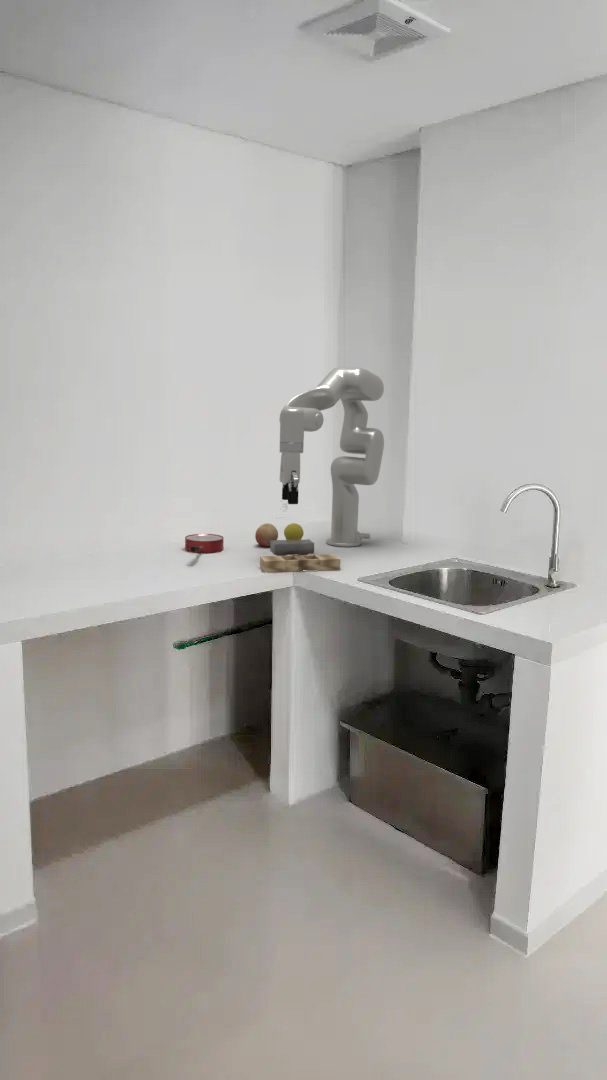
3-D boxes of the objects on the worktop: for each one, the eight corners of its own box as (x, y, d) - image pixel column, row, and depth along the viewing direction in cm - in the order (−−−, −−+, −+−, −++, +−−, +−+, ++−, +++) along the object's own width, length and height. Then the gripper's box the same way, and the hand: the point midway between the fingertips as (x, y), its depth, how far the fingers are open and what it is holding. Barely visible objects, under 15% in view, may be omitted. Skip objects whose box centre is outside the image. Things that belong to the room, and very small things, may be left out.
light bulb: (303, 550, 275) (304, 522, 273) (301, 554, 268) (302, 525, 266) (284, 549, 275) (285, 521, 273) (282, 553, 269) (283, 524, 267)
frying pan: (221, 567, 248) (222, 547, 246) (179, 566, 246) (179, 546, 245) (223, 546, 279) (223, 528, 278) (186, 545, 278) (186, 527, 276)
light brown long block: (333, 564, 254) (333, 554, 253) (340, 570, 247) (340, 559, 246) (259, 567, 248) (260, 556, 247) (264, 572, 241) (264, 561, 240)
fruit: (250, 545, 281) (251, 523, 280) (270, 543, 286) (270, 521, 284) (262, 549, 275) (262, 526, 273) (282, 547, 279) (282, 525, 278)
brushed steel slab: (308, 558, 262) (309, 539, 261) (313, 563, 256) (314, 543, 255) (270, 559, 259) (270, 540, 257) (274, 564, 253) (274, 544, 251)
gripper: (274, 445, 257) (273, 498, 260) (284, 449, 240) (283, 505, 244) (297, 446, 259) (295, 498, 262) (309, 450, 242) (307, 505, 245)
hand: (289, 501), depth 253 cm, fingers open, 9 cm apart
